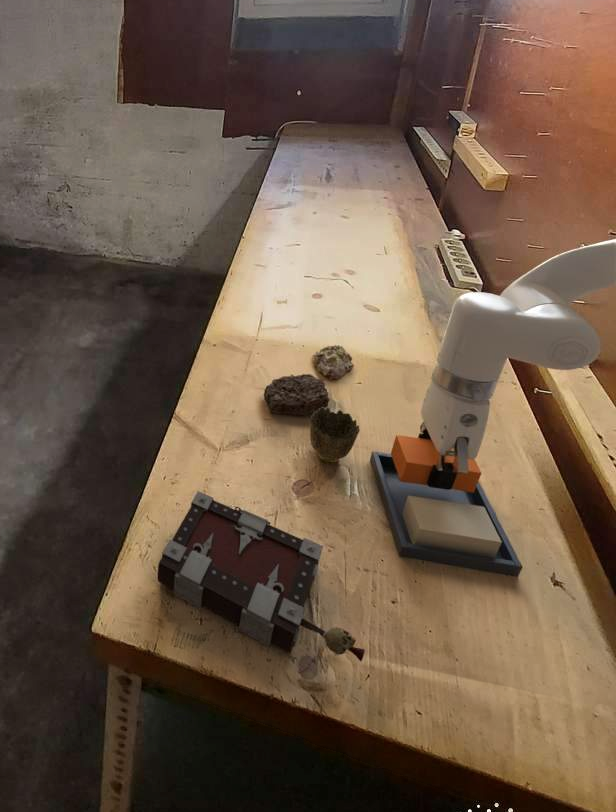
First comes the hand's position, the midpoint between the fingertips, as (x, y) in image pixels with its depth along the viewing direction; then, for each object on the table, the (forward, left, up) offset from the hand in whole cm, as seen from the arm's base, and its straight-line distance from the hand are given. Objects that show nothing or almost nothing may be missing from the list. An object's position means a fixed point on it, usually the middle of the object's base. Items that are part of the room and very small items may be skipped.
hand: (431, 469), depth 87 cm
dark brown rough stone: (+18, -18, -5) cm, 26 cm away
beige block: (0, +9, -4) cm, 10 cm away
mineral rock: (+9, -32, -5) cm, 34 cm away
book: (+26, +23, -5) cm, 35 cm away
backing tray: (0, +5, -5) cm, 7 cm away
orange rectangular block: (0, 0, -1) cm, 1 cm away
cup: (+14, -4, -5) cm, 15 cm away
